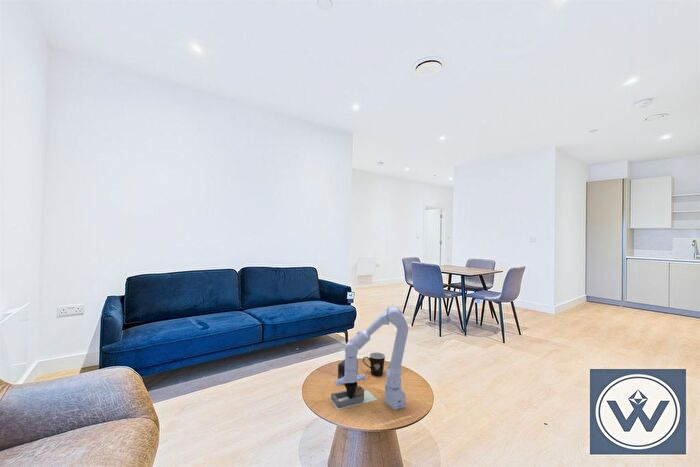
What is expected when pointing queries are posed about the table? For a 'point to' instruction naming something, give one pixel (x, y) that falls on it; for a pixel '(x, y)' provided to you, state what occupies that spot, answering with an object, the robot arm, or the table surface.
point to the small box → (343, 369)
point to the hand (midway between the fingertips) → (350, 397)
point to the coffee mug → (376, 363)
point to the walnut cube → (358, 392)
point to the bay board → (343, 401)
